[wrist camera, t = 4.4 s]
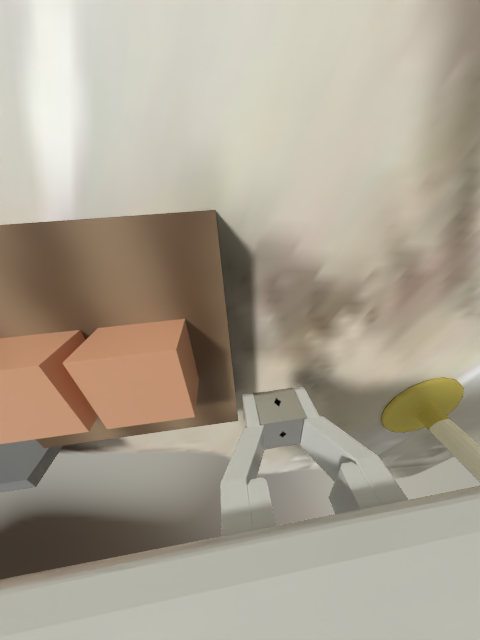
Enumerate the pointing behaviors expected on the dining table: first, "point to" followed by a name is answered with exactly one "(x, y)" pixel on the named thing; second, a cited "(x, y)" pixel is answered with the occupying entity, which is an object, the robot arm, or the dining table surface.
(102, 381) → the tile
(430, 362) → the dining table surface
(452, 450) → the candle
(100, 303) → the wooden square board
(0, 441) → the tile
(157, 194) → the dining table surface
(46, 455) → the box
